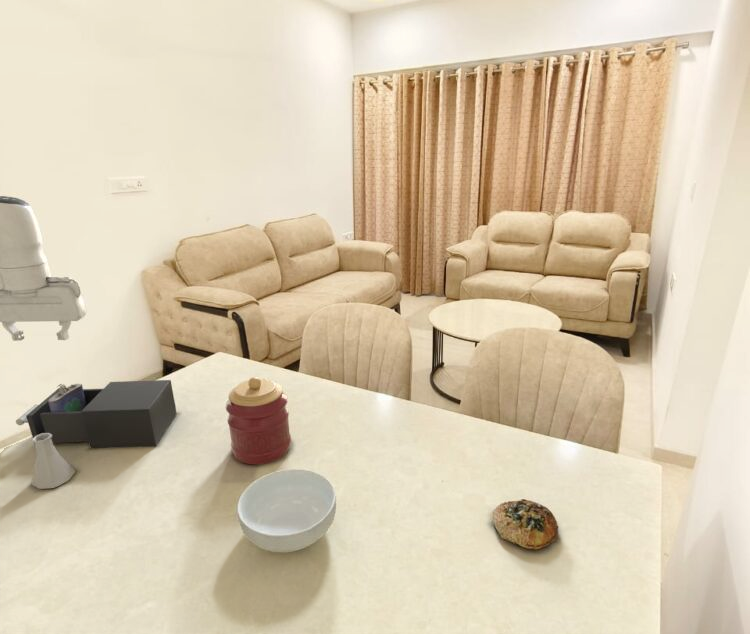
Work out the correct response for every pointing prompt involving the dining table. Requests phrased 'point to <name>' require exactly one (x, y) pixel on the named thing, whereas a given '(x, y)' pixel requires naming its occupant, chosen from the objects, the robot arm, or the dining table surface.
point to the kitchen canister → (258, 421)
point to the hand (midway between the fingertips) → (41, 339)
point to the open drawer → (57, 420)
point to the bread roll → (525, 523)
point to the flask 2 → (49, 464)
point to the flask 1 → (68, 399)
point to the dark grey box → (129, 414)
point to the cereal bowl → (287, 510)
